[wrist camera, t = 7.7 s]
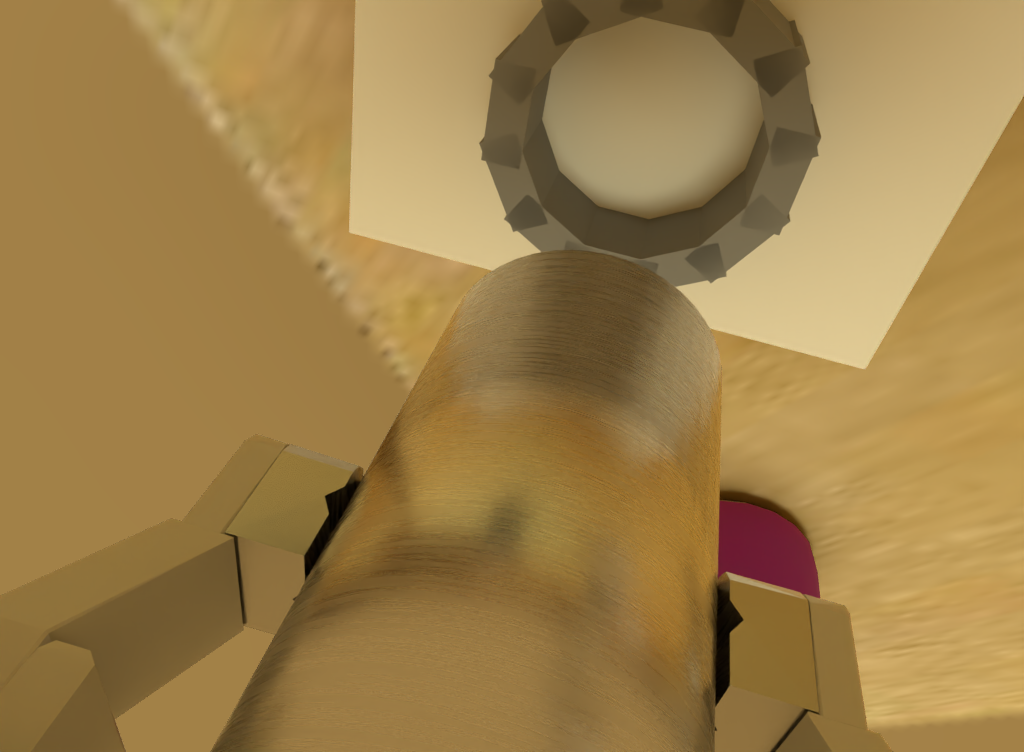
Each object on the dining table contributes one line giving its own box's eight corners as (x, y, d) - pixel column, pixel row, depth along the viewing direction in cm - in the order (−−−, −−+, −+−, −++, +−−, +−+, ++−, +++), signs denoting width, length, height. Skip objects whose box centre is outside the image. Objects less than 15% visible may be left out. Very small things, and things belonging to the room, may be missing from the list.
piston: (765, 294, 11) (852, 1553, 3) (673, 504, 14) (594, 1437, 6) (462, 216, 12) (-161, 1151, 4) (433, 436, 15) (56, 1226, 7)
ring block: (1100, -69, 20) (1169, -46, 17) (861, 354, 28) (876, 421, 25) (375, -222, 21) (314, -227, 18) (359, 221, 30) (315, 269, 27)
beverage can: (687, 610, 39) (672, 859, 30) (618, 510, 36) (578, 753, 27) (838, 583, 36) (875, 858, 26) (777, 469, 33) (794, 735, 23)
